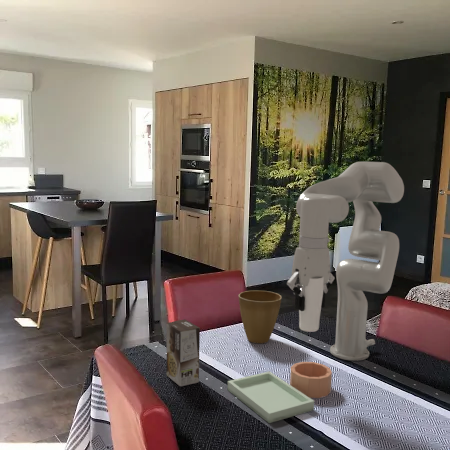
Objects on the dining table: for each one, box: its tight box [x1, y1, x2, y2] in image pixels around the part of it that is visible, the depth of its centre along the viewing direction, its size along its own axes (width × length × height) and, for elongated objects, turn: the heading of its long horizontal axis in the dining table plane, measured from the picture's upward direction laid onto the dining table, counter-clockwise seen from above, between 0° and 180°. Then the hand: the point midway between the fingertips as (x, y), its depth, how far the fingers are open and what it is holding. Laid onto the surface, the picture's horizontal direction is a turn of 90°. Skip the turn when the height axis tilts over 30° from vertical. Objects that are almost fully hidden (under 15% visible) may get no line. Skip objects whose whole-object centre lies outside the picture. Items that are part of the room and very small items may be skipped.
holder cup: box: [289, 361, 333, 399], centre depth 144 cm, size 11×11×6 cm
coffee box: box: [166, 319, 201, 387], centre depth 147 cm, size 9×6×16 cm
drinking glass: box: [298, 277, 324, 333], centre depth 140 cm, size 7×7×15 cm
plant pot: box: [238, 290, 282, 344], centre depth 180 cm, size 15×15×16 cm
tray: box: [227, 371, 315, 424], centre depth 137 cm, size 14×20×2 cm
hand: (309, 307), depth 140 cm, fingers closed on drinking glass, 6 cm apart
